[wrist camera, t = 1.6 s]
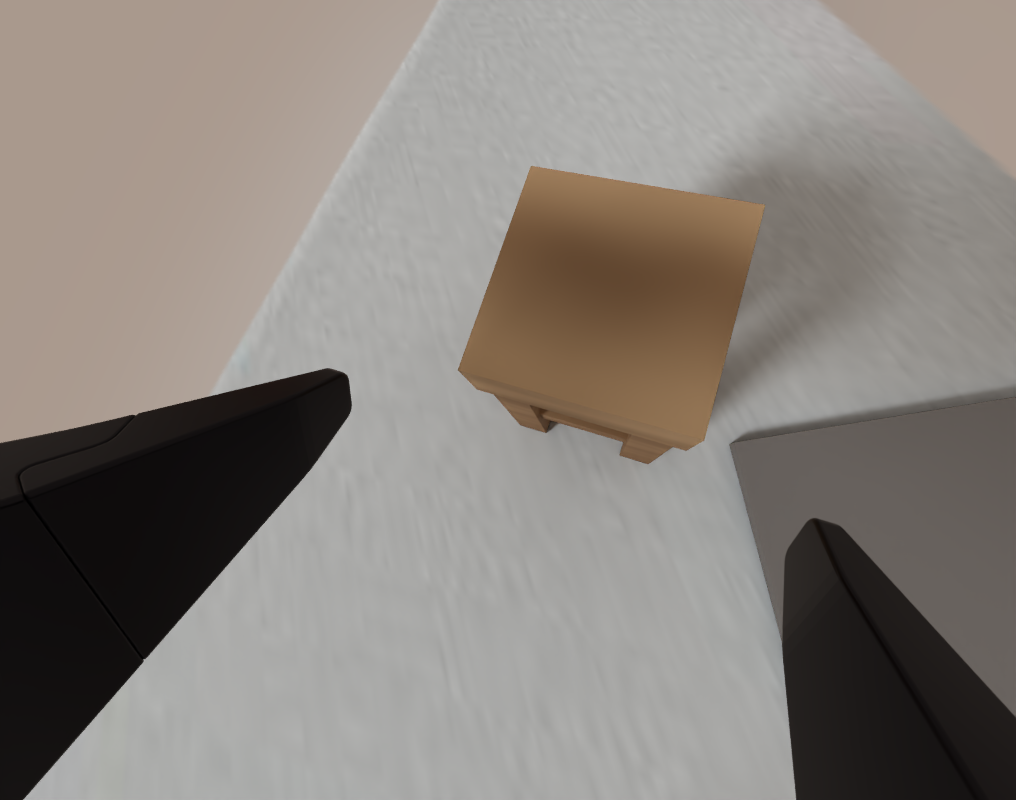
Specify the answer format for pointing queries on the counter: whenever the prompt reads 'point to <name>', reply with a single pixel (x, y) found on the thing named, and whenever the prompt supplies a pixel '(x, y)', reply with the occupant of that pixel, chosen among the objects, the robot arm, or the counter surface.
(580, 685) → the counter surface
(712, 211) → the stool
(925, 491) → the mat
